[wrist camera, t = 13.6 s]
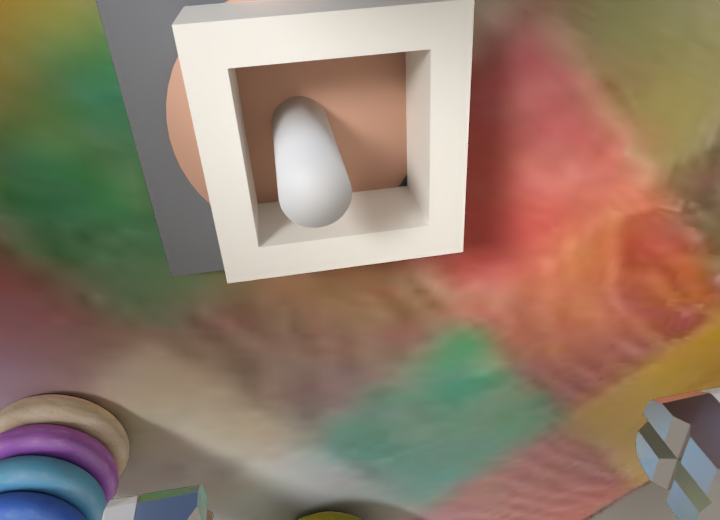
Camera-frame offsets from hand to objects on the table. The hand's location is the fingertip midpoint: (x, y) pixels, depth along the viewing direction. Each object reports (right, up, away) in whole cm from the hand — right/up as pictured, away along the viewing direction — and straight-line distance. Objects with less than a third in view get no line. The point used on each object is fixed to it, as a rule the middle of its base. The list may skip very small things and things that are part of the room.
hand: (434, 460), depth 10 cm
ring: (-3, +10, +15) cm, 18 cm away
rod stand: (-4, +10, +16) cm, 19 cm away
